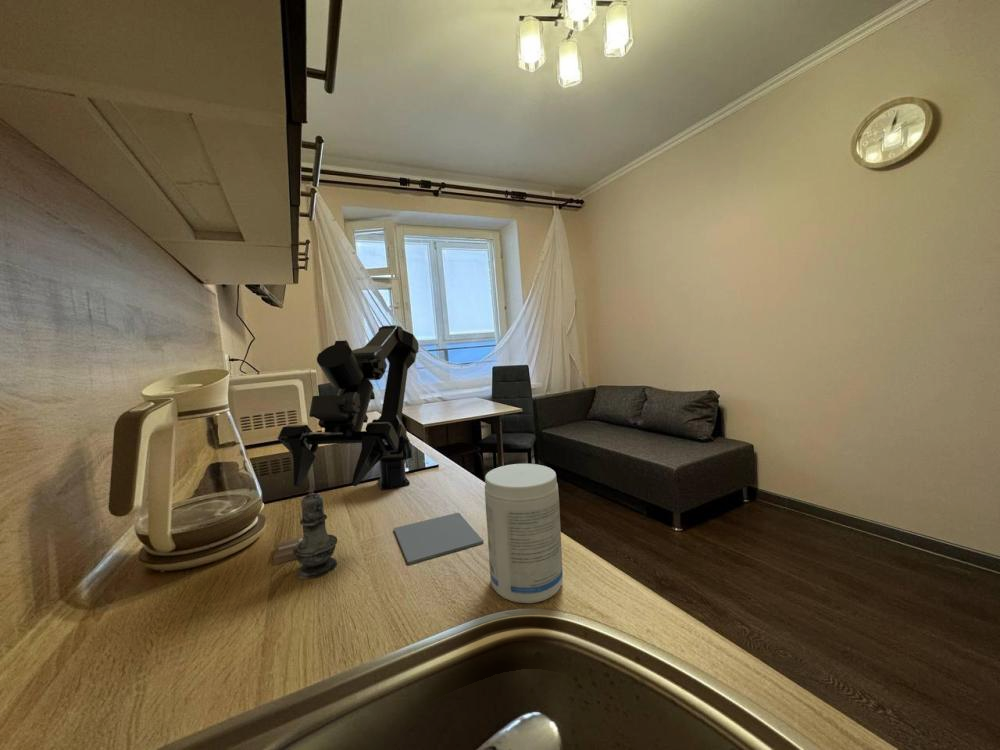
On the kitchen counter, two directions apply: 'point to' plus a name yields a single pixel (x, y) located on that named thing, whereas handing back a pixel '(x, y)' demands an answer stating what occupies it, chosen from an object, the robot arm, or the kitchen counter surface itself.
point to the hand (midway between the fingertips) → (325, 485)
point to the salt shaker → (314, 540)
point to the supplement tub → (524, 532)
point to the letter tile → (285, 550)
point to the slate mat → (436, 537)
